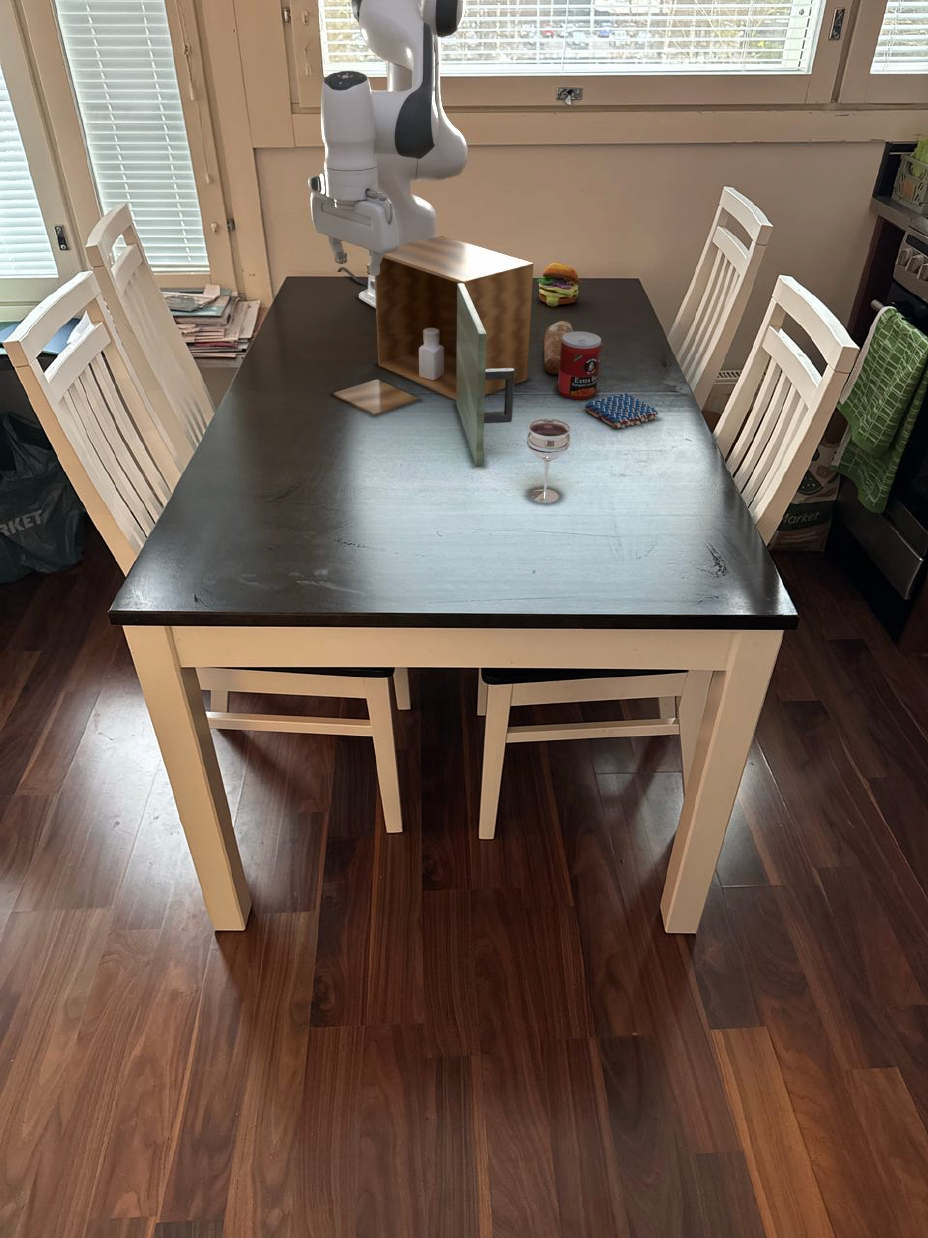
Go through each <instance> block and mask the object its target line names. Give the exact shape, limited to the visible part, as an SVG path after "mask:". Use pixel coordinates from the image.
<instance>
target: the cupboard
mask: <svg viewBox="0 0 928 1238" xmlns="http://www.w3.org/2000/svg"><path fill="white" fill-rule="evenodd" d="M533 280H534V263H533V262H530V261H527V260H525V259H522V258H521V259H520V258H518V257H515V256H511V255H507V254H505V253H502V252H499V251H498V252H497V251H494V250H491V249H488V248H484V247H481V246H478V245H474V244H471V243H467V242H464V241H461V240H457V239H454V238H451V237H448V236H444V235H438V236H436V237H434V238H430V239H425V240H421V241H416V242H412V243H407V244H403V245H398V247H397V249H396V250H395V251H393V252H390V253H385V254H384V256H383V258H382V261H381V263H380V274H379V275H377V276H375V297H376V308H375V316H376V318H375V321H376V341H377V365H378V366H379V367H382V368H384V369H386V370H388V371H390V372H392V373H394V374H397V375H400V376H402V377H404V378H406V379H408V380H410V381H413V382H415V383H417V384H419V385H421V386H424V387H426V388H428V389H430V390H432V391H435V392H436V393H439V394H441V395H443V396H446V397H448V398H450V399H452V400H455V401H456V383H457V284H461V283H464V285H465V287H466V289H467V292H468V294H469V296H470V298H471V301H472V303H473V305H474V307H475V309H476V312H477V314H478V316H479V318H480V321H481V323H482V325H483V327H484V329H485V332H486V334H487V335H486V369H499V368H513V369H514V370H515V371H514V385H516V384H520V383H522V382H525V381H527V380H528V369H529V368H528V367H529V353H530V351H529V349H530V335H531V334H530V333H531V332H530V331H531V317H532V316H531V315H532V313H531V312H532V300H533V299H532V298H533V297H532V295H533ZM427 328H436V329H439V335H440V340H439V345H441V346H443V347H444V375H443V376H441V377H439V378H438V379H436V380H430V379H426V378H423V377H420V375H419V348H420V347H421V346H422V345H424V340H423V337H424V336H423V330H424V329H427ZM505 381H506V379H504V380H485V396H487V395H488V394H489V395H490V394H493V393H495V392H498V391H500V390H502V389H505Z"/></svg>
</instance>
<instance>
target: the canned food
mask: <svg viewBox="0 0 928 1238" xmlns="http://www.w3.org/2000/svg"><path fill="white" fill-rule="evenodd" d="M601 350H602V337H600V336H599V335H597V334H595V333H592V332H589V331H580V330H579V331H577V330H575V331H574V332H569V333H566V334H564V335H563V336H562V342H561V353H560V367H559V374H558V379H557V381H558V383H557V389H558V393H559V394H560V395H561V396H563V397H564V398H567V399H571V400H576V401H577V400H580V401H581V400H582V401H583V400H587V399H591V398H593V397H594V396H595V394H596V392H597V388H598V378H599V368H600V362H601V361H600V360H601Z"/></svg>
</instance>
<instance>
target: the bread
mask: <svg viewBox="0 0 928 1238" xmlns="http://www.w3.org/2000/svg"><path fill="white" fill-rule="evenodd" d="M569 332H575V331H574V329H573V327H572V324H571V323H570V322H569V321H564V320H559V321H558V322H555V323H554V324H552V325H549V326H548V327H547V328H546V330H545V333H544V343H543V345H544V348H543V349H544V351H543V352H544V353H543V355H544V368H545V369H544V370H546V371H547V373H548V374H552V375H559V367H560V353H561V342H562V336H563V335H564V334H566V333H569Z"/></svg>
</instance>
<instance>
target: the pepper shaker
mask: <svg viewBox="0 0 928 1238" xmlns="http://www.w3.org/2000/svg"><path fill="white" fill-rule="evenodd" d="M423 336H424V337H423V340H424V345H422V346H421V347H420V348H419V375H420V377H423V378H426V379H430V380H436V379H438V378H439V377H441V376H443V375H444V347H443V346H441V345H439V340H440V335H439V329H436V328H427V329H424V330H423Z"/></svg>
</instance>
